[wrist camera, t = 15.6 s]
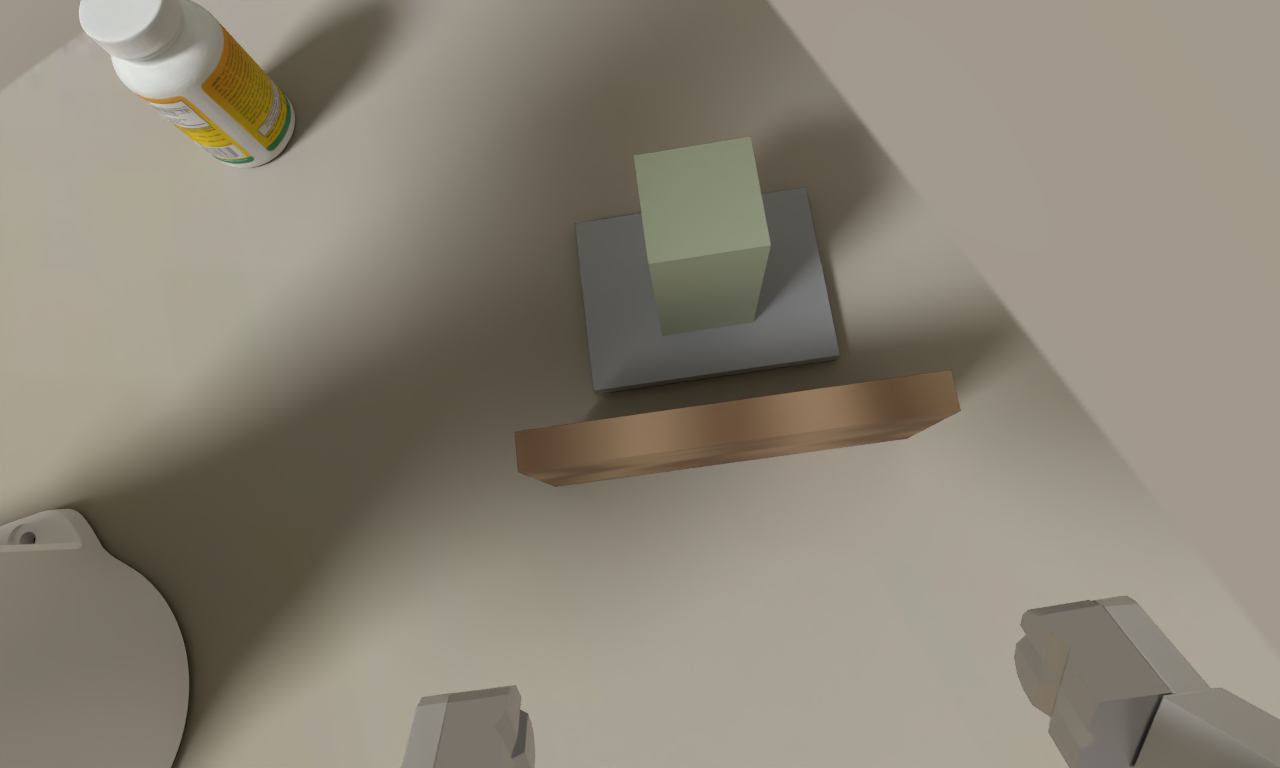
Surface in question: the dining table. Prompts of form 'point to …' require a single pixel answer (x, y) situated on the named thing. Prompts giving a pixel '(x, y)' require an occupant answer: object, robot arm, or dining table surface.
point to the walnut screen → (737, 430)
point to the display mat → (642, 357)
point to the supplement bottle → (194, 76)
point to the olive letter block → (703, 233)
